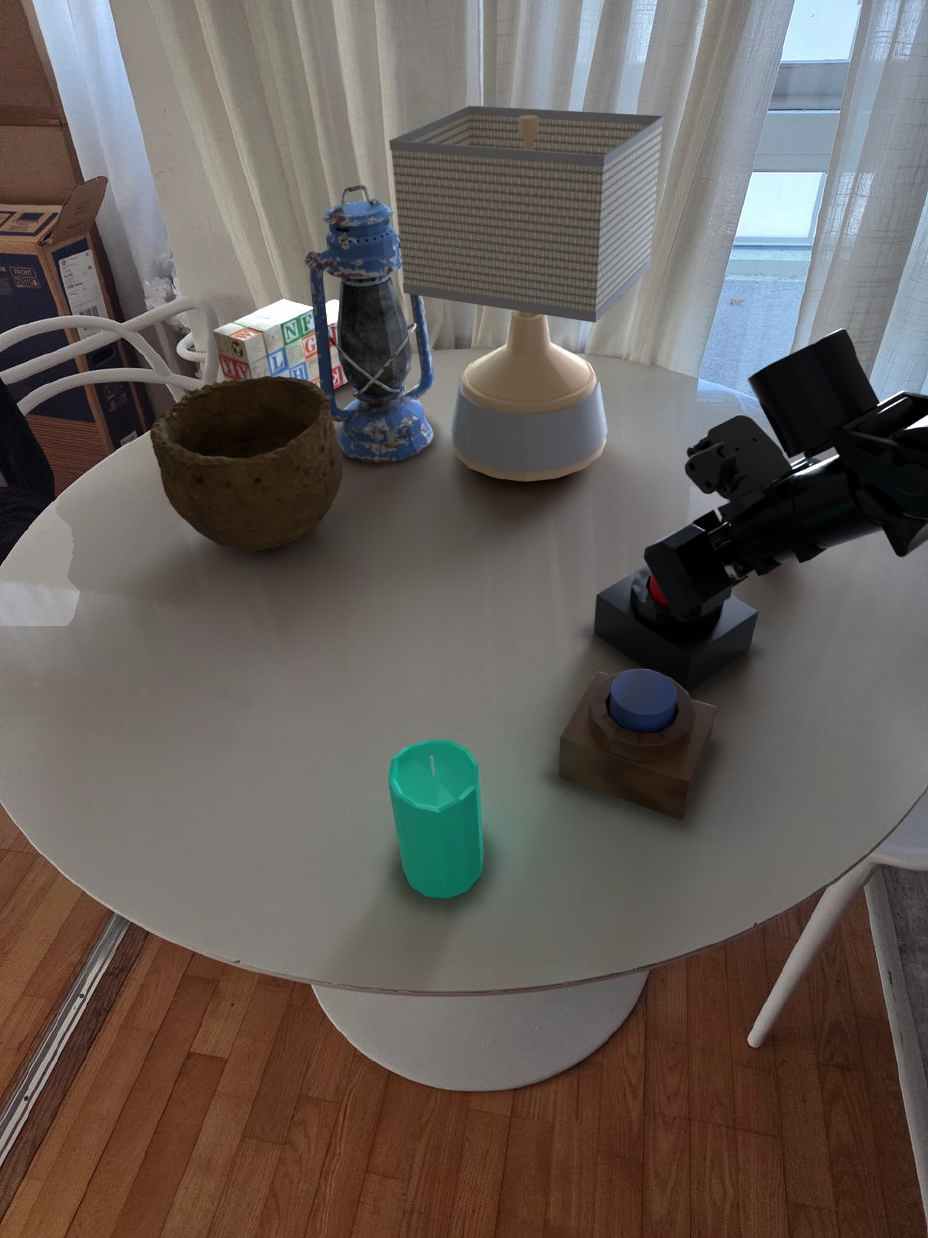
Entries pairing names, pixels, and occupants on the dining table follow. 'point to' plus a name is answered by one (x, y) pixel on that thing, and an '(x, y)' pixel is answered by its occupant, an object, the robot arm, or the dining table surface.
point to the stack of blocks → (277, 344)
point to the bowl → (250, 460)
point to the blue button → (642, 700)
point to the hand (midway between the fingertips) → (681, 560)
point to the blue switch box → (636, 750)
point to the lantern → (370, 334)
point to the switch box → (672, 632)
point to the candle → (437, 816)
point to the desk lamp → (528, 263)
